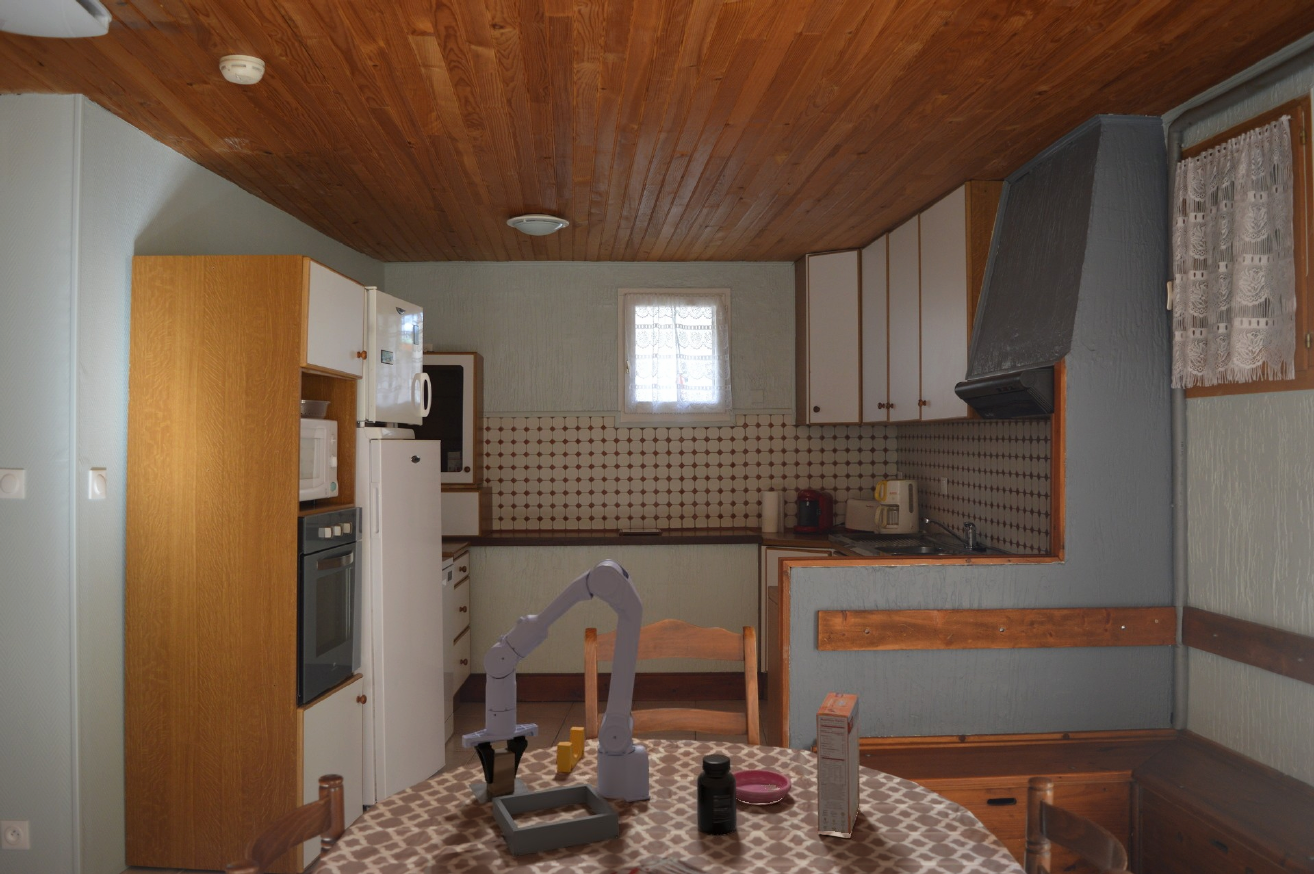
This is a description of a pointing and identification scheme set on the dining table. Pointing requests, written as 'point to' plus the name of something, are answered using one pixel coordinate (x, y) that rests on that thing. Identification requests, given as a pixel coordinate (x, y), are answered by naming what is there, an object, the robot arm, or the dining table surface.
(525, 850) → the bin
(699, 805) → the supplement bottle
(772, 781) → the saucer
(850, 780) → the cracker box
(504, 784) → the small brown box
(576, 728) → the yellow u-shaped block
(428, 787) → the dining table surface
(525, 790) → the stud plate
